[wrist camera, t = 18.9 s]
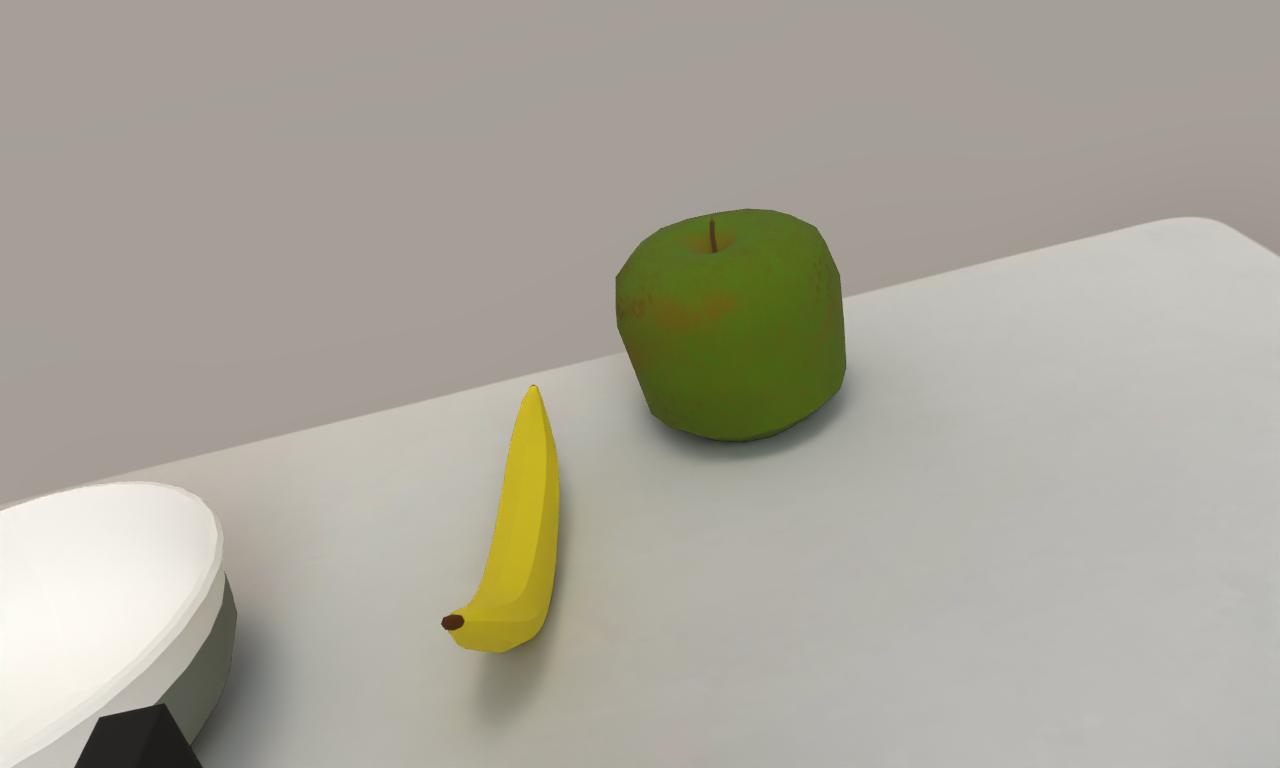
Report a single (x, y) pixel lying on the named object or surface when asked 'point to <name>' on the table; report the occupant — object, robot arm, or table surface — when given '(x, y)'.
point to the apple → (733, 323)
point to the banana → (518, 543)
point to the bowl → (108, 615)
